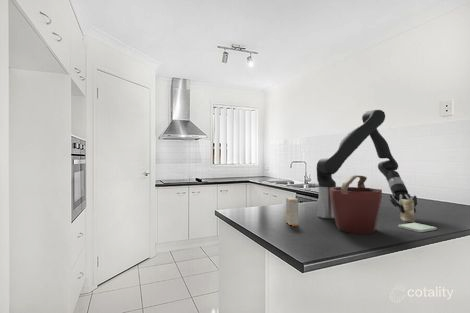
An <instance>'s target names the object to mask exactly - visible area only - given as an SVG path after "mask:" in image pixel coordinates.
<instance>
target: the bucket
mask: <svg viewBox="0 0 470 313" xmlns="http://www.w3.org/2000/svg"><path fill="white" fill-rule="evenodd" d="M357 178H359V180H358V181H357V186H355V187H354V186H350V185H351V184H352V183H353V182H354V181H355V180H356V179H357ZM367 179H368V177H367V176H364V175H351V176H349V177H347V179H345V181H344V182H342V184H341V186H336V188H330V198H331V203H332V208H333V212H334V217H335V218H334V221H335V226H336V228H337V229H338V230H339V231H341V232H346V233H351V234H356V235H366V234H367V235H368V234H369V235H371V234H374V233H375V231H376V229H377V223H378V219H379V213H380V207H381V203H382V197H383V191H382V190H383V189H379V188H371V187H366V186H365V183H366V181H367Z"/></svg>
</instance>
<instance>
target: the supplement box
mask: <svg viewBox="0 0 470 313" xmlns="http://www.w3.org/2000/svg"><path fill="white" fill-rule="evenodd" d="M285 203H286V204H285V207H286V209H285V212H286V214H285V215H286V216H285V217H286V218H285V219H286V221H285V222H286V224H287V223H288V224H289V225H292V226H291V227H298V226H299V199H298V198H296V197H293V196H292V197H290V196H289V197H286V198H285ZM288 224H287V225H288ZM289 225H288V226H289Z"/></svg>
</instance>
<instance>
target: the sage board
mask: <svg viewBox="0 0 470 313" xmlns="http://www.w3.org/2000/svg"><path fill="white" fill-rule="evenodd" d="M397 227H398V228H401V229H403V230H408V231H413V232H415V233H416V232H417V233H425V232H430V231H431V232H432V231H436V230H437V227H436V226H432V225H427V224H424V223H423V224H422V223H417V222H408V223H402V224H398V225H397Z"/></svg>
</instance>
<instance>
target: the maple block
mask: <svg viewBox="0 0 470 313" xmlns="http://www.w3.org/2000/svg"><path fill="white" fill-rule="evenodd" d="M410 199H411V198H410ZM410 199H401V203H402V205H403V208H404V210H405V212H404V213H402V212H401V211H400V210H399V211H400V220H401V221H403V222H405V223H406V222H408V223H415V213H414V201H413V200H410Z"/></svg>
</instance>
